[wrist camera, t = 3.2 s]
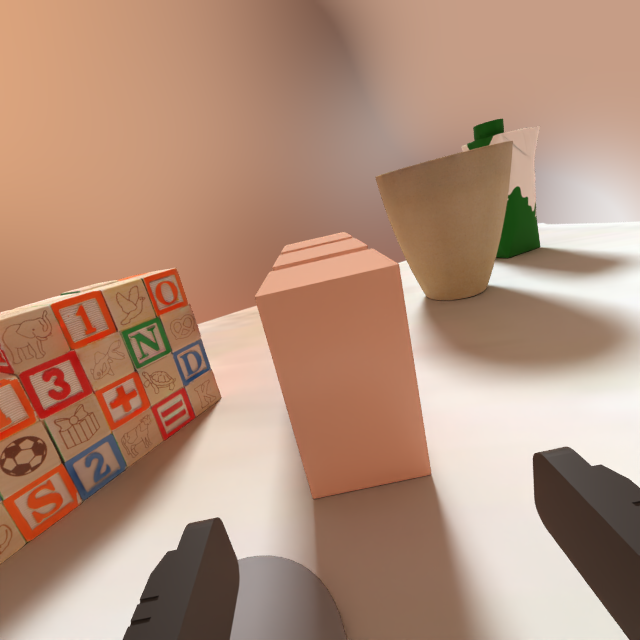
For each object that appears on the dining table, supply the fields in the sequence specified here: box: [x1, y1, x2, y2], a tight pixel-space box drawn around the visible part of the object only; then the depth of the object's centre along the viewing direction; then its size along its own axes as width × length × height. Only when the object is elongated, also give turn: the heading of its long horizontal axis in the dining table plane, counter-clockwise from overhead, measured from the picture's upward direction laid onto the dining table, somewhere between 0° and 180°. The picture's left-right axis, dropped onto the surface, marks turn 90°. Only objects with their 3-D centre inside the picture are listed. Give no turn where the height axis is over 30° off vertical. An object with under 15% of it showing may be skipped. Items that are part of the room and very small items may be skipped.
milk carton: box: [462, 119, 540, 258], centre depth 56 cm, size 9×9×20 cm
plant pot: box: [376, 141, 513, 300], centre depth 43 cm, size 15×15×16 cm
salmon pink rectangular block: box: [255, 249, 431, 499], centre depth 19 cm, size 6×6×11 cm
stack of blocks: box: [0, 268, 221, 564], centre depth 23 cm, size 21×6×12 cm, turn 149°
